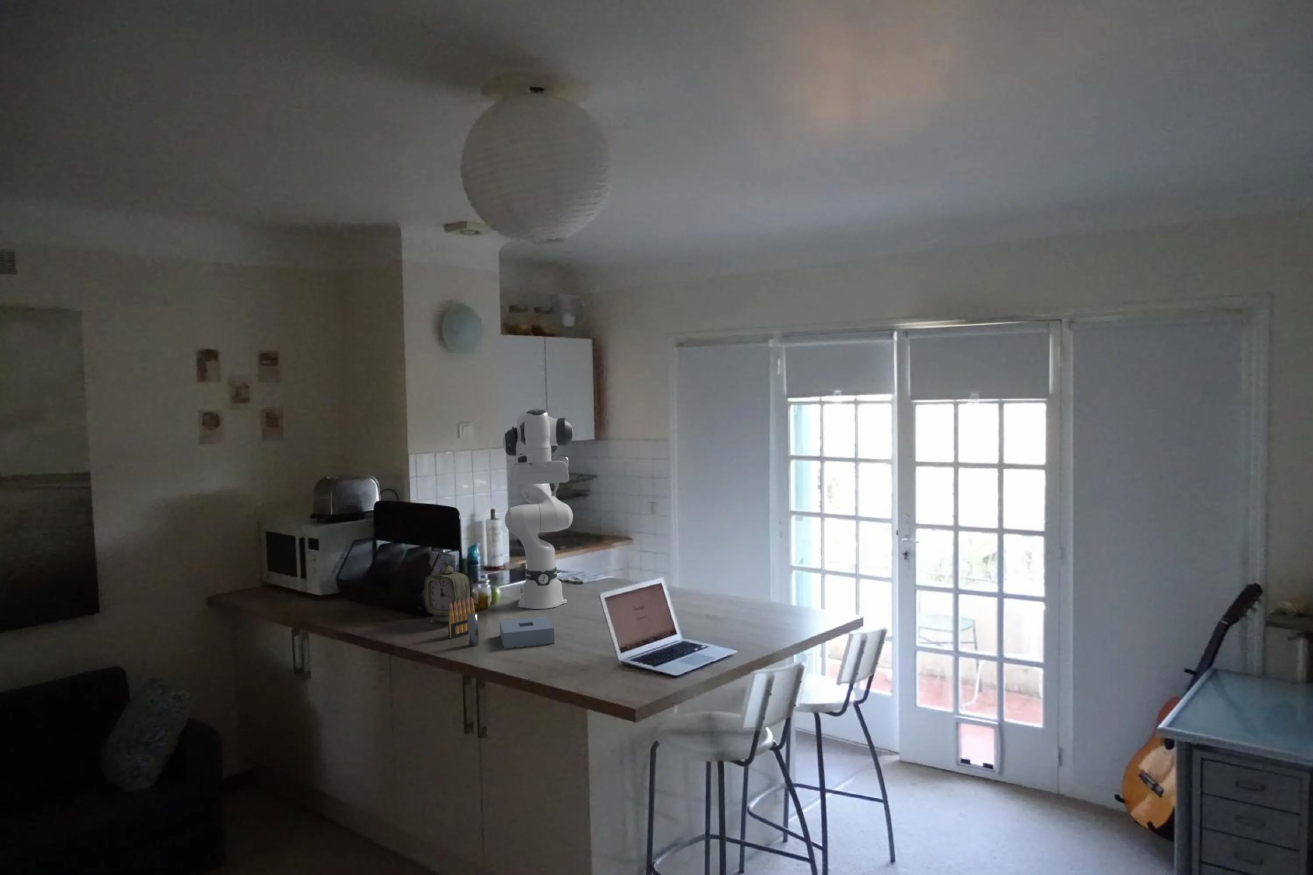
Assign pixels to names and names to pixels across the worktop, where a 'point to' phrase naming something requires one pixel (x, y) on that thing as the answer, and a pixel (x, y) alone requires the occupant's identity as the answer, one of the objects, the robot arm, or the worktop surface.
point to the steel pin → (473, 629)
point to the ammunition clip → (459, 618)
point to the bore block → (526, 632)
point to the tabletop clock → (445, 590)
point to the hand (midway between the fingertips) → (540, 497)
